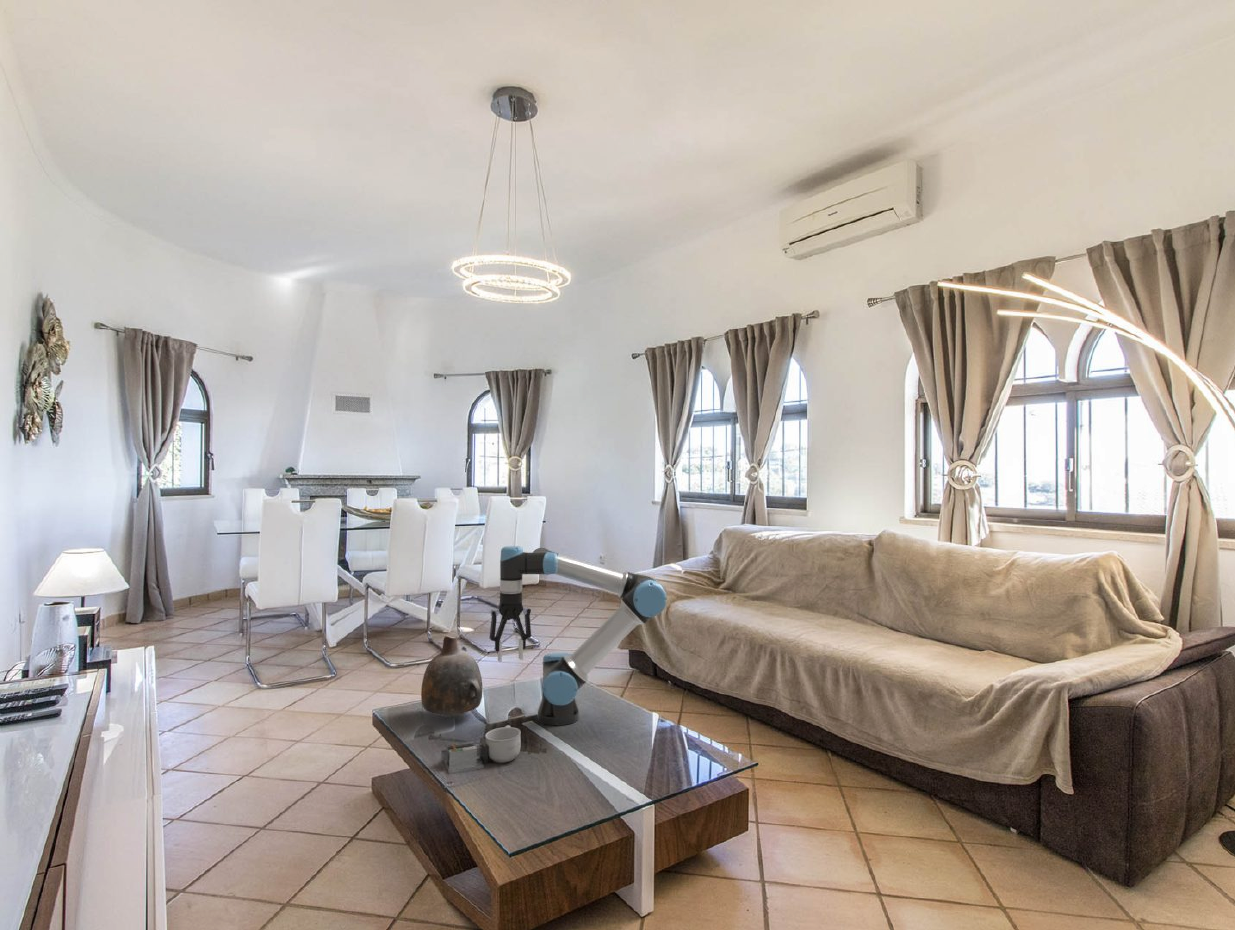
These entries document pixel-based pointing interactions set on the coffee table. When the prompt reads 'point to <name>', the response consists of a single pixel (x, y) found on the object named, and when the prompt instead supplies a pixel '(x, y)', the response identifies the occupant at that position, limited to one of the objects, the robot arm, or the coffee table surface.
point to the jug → (451, 682)
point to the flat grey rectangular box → (463, 758)
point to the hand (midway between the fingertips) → (510, 659)
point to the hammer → (481, 748)
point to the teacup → (503, 743)
